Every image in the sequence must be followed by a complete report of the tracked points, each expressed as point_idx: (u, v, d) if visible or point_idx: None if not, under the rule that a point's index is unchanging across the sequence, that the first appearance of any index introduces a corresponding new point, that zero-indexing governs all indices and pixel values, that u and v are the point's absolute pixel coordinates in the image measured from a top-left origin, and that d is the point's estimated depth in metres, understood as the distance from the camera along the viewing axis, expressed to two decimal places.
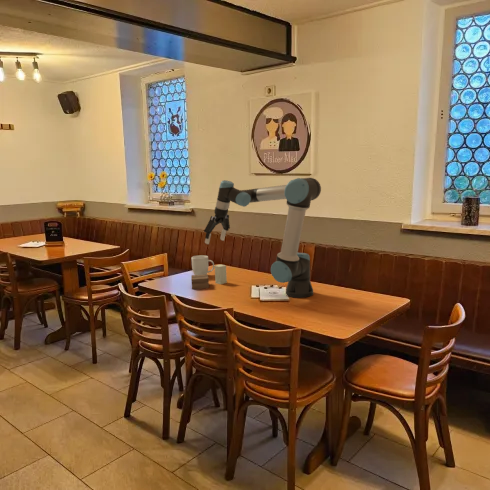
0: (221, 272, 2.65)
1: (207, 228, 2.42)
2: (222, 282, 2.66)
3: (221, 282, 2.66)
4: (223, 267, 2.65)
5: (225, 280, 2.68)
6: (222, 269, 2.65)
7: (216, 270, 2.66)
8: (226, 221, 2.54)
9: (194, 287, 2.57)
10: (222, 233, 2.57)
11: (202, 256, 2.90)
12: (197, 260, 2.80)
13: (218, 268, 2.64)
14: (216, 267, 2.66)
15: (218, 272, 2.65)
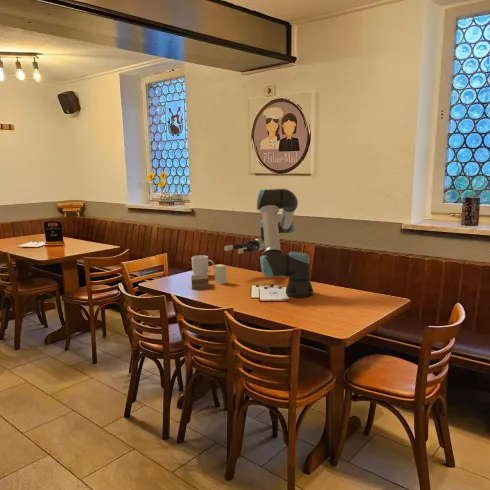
0: (221, 272, 2.65)
1: None
2: (222, 282, 2.66)
3: (221, 282, 2.66)
4: (223, 267, 2.65)
5: (225, 280, 2.68)
6: (222, 269, 2.65)
7: (216, 270, 2.66)
8: None
9: (194, 287, 2.57)
10: None
11: (202, 256, 2.90)
12: (197, 260, 2.80)
13: (218, 268, 2.64)
14: (216, 267, 2.66)
15: (218, 272, 2.65)
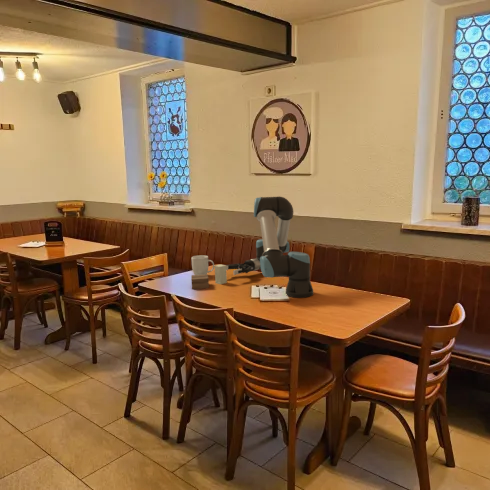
0: (221, 272, 2.65)
1: None
2: (222, 282, 2.66)
3: (221, 282, 2.66)
4: (223, 267, 2.65)
5: (225, 280, 2.68)
6: (222, 269, 2.65)
7: (216, 270, 2.66)
8: None
9: (194, 287, 2.57)
10: None
11: (202, 256, 2.90)
12: (197, 260, 2.80)
13: (218, 268, 2.64)
14: (216, 267, 2.66)
15: (218, 272, 2.65)
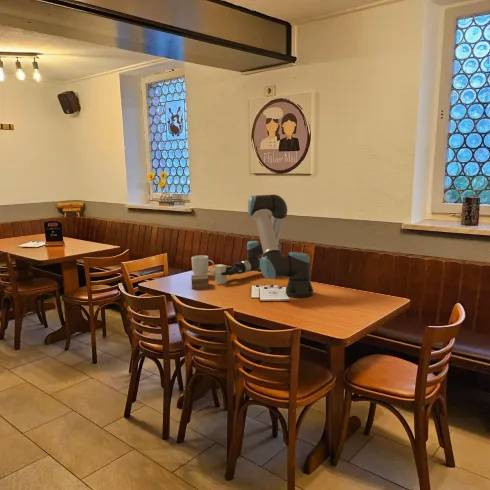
0: None
1: None
2: (222, 282, 2.66)
3: (221, 282, 2.66)
4: (223, 267, 2.65)
5: (225, 280, 2.68)
6: (222, 269, 2.65)
7: (216, 270, 2.66)
8: None
9: (194, 287, 2.57)
10: None
11: (202, 256, 2.90)
12: (197, 260, 2.80)
13: (218, 268, 2.64)
14: (216, 267, 2.66)
15: None
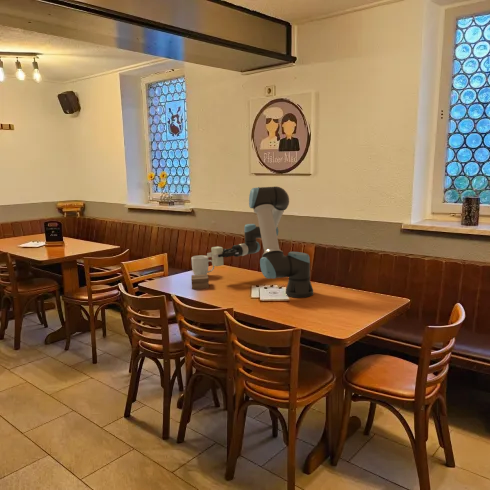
0: None
1: None
2: (219, 264, 2.64)
3: (218, 264, 2.63)
4: (220, 249, 2.63)
5: (222, 262, 2.65)
6: (219, 251, 2.63)
7: (213, 252, 2.64)
8: None
9: (194, 287, 2.57)
10: None
11: (202, 256, 2.90)
12: (197, 260, 2.80)
13: (215, 250, 2.62)
14: (213, 249, 2.64)
15: None
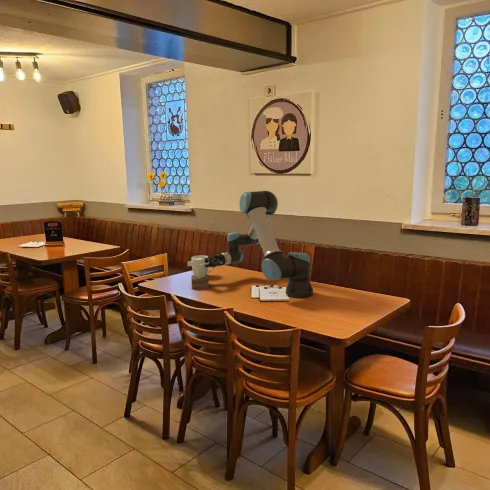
0: None
1: None
2: (201, 276, 2.59)
3: (200, 276, 2.58)
4: (202, 260, 2.58)
5: (204, 274, 2.60)
6: (200, 262, 2.58)
7: (194, 263, 2.59)
8: None
9: (194, 287, 2.57)
10: None
11: (202, 256, 2.90)
12: None
13: (196, 261, 2.57)
14: (194, 260, 2.58)
15: (196, 266, 2.58)
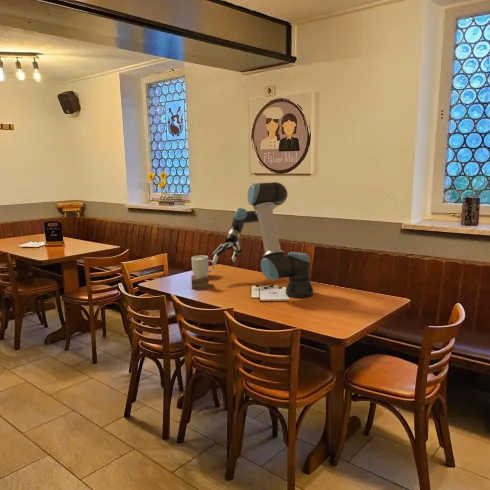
0: (200, 266, 2.58)
1: None
2: (201, 276, 2.59)
3: (200, 276, 2.58)
4: (202, 260, 2.58)
5: (204, 274, 2.60)
6: (200, 262, 2.58)
7: (194, 263, 2.59)
8: (238, 246, 2.66)
9: (194, 287, 2.57)
10: None
11: (202, 256, 2.90)
12: None
13: (196, 261, 2.57)
14: (194, 260, 2.58)
15: (196, 266, 2.58)
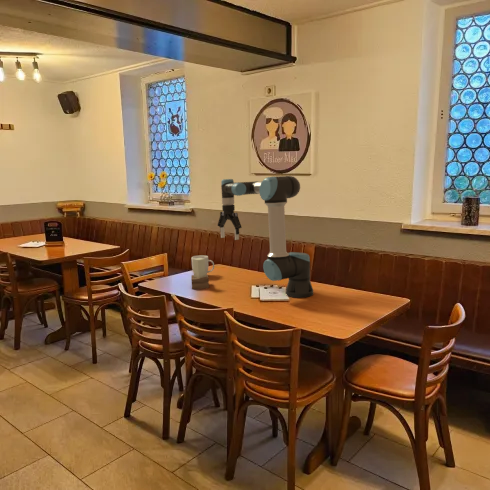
0: (200, 266, 2.58)
1: None
2: (201, 276, 2.59)
3: (200, 276, 2.58)
4: (202, 260, 2.58)
5: (204, 274, 2.60)
6: (200, 262, 2.58)
7: (194, 263, 2.59)
8: None
9: (194, 287, 2.57)
10: None
11: (202, 256, 2.90)
12: None
13: (196, 261, 2.57)
14: (194, 260, 2.58)
15: (196, 266, 2.58)
